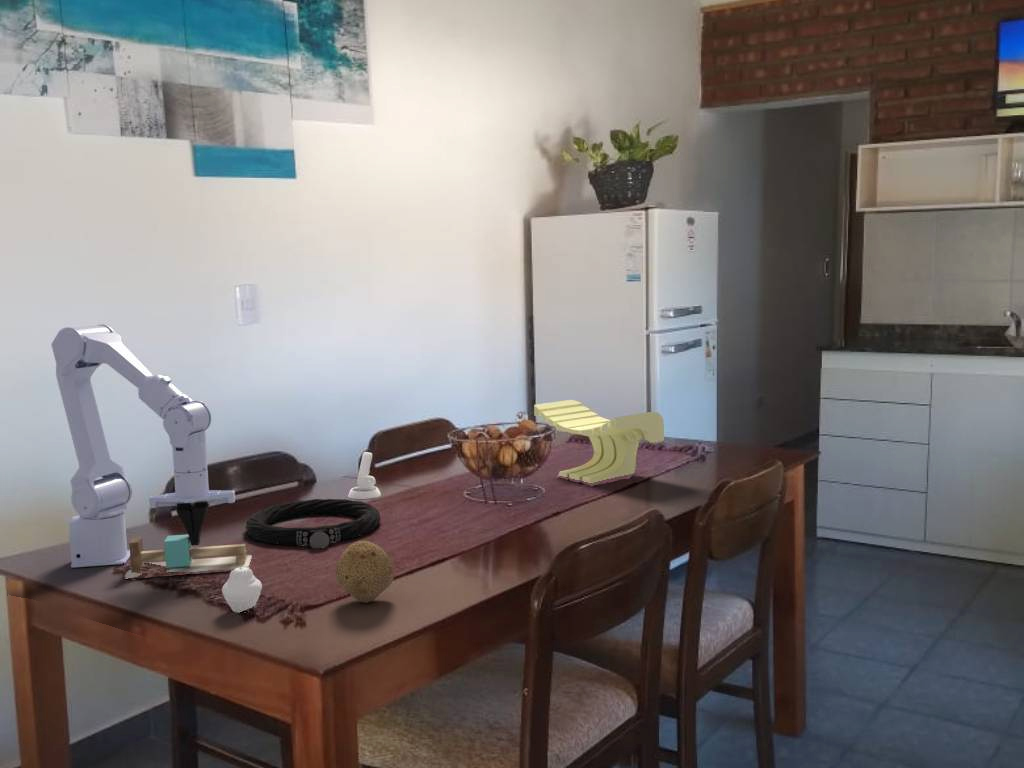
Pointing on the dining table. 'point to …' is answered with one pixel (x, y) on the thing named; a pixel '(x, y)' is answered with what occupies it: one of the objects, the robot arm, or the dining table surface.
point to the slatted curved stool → (603, 437)
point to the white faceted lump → (241, 589)
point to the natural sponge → (364, 571)
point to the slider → (177, 551)
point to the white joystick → (365, 481)
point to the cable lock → (312, 535)
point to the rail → (197, 564)
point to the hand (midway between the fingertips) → (195, 543)
